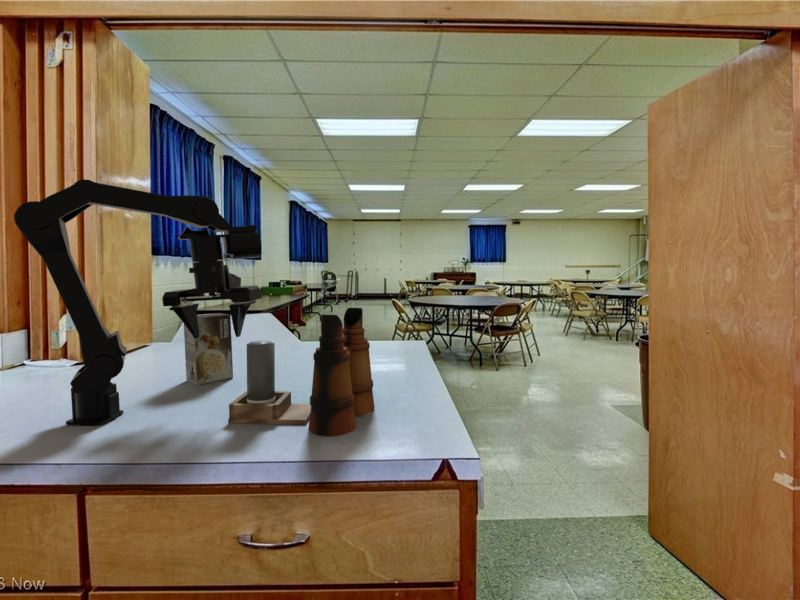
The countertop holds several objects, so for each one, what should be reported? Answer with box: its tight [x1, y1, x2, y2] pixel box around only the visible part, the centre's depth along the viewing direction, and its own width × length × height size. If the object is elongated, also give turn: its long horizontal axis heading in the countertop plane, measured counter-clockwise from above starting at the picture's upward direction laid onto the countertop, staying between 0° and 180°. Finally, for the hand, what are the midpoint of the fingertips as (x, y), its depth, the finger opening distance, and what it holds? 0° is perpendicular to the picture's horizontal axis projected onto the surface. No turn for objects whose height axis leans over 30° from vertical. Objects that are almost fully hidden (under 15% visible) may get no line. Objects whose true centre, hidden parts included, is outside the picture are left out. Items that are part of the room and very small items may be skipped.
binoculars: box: [308, 307, 376, 438], centre depth 81 cm, size 18×8×20 cm, turn 164°
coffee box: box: [183, 312, 234, 386], centre depth 107 cm, size 9×6×16 cm
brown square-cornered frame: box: [227, 390, 311, 425], centre depth 82 cm, size 14×9×3 cm, turn 88°
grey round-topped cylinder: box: [246, 340, 276, 404], centre depth 82 cm, size 5×5×13 cm
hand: (217, 337), depth 90 cm, fingers open, 9 cm apart
